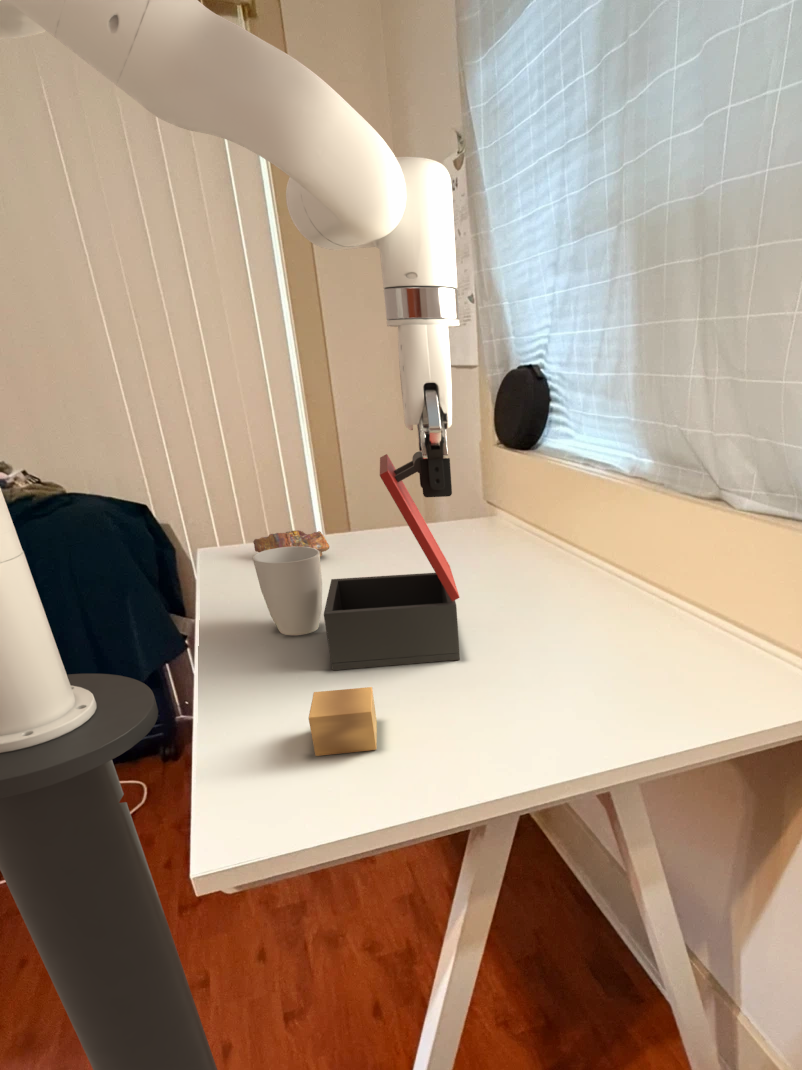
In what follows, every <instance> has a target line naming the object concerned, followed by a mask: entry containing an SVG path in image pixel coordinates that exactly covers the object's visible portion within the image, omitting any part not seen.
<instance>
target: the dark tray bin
mask: <svg viewBox="0 0 802 1070" xmlns="http://www.w3.org/2000/svg"><path fill="white" fill-rule="evenodd" d="M323 619H324V626H325V631H326V638H327V644H328V645H327V646H328V650H329V657H330V663H331V669H332V671H340V670H341V671H342V670H354V669H364V668H366V669H367V668H377V667H388V666H389V667H390V666H399V665H400V666H402V665H410V664H411V665H412V664H413V665H414V664H424V663H425V664H426V663H435V662H448V661H450V662H451V661H460V660H461V655H460V643H459V642H460V640H459V639H460V638H459V624H458V622H459V621H458V609H457V602H456V600H454V601H451V599H450V597H449V595H448V594H447V592H446V590H445V588H444V587H443V585H442V583H441V581H440V580H439V578H438V576H437V574H436V573H435V572H423V573H407V574H392V575H378V576H377V575H376V576H375V575H374V576H360V577H359V576H358V577H347V578H345V577H344V578H331V579H330V584H329V589H328V592H327V597H326V603H325V607H324V611H323Z"/></svg>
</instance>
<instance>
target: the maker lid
mask: <svg viewBox="0 0 802 1070" xmlns="http://www.w3.org/2000/svg"><path fill="white" fill-rule="evenodd" d="M411 459H412V460H411V461H408V462H407V463H405V464H403V465H402V466H399V467H397V468H396V467H395V466H394V464H393V462H392V460H391V458H390V456H389V455H388V453H386V454H384V455H382V456H380V457H379V477H380V479H381V480H382V482H383V484H384V486H385V487H386V489H387V491H388V493H389V494H390V496H391V498H392V500H393V501H394V504H395V505H396V507H397V508H398V510H399V512H400V514H401V515H402V517H403V519H404V520H405V521H404V522H406V525H407V526H408V529H410V531H411V533H412V534H413V536H414V538H415V540H416V541H417V543H418V545H419V547H420V549H421V550H422V552H423V553H424V555H425V557H426V559H427V560H428V563H429V564H430V566H431V568H432V569H433V571H434V573H436V574H437V576H438V578H439V580H440V581H441V583H442V585H443V587H444V588H445V590H446V592H447V594H448V595H449V597H450V599H451V601H454V600H455V601H456V600H458V599H460V597H461V596H460V594H459V591H458V588H457V585H456V582H455V578H454V575H453V572H452V568H451V565H450V564H449V562H448V561H447V558H446V557H445V555H444V553H443V551H442V550H441V548H440V546H439V544H438V542H437V540H436V538H435V537H434V534H433V533H432V531H431V530H430V527H429V526H428V524H427V522H426V521H425V519H424V517H423V515H422V514H421V512H420V510H419V508H418V507H417V505H416V503H415V501H414V499H413V498H412V495H411V494H410V492H409V490H408V489H407V486H406V485H405V483H404V482H403V480H405V479H407V478H409V477H411V476H413V475H414V474H416V473H418V474H419V473H420V474H421V464H420V459H423V458H422V452H421V451H419V450H418V451H416V452H414V454H413V455H412V457H411Z"/></svg>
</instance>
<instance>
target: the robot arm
mask: <svg viewBox="0 0 802 1070" xmlns="http://www.w3.org/2000/svg"><path fill="white" fill-rule="evenodd" d="M46 32H47V33H48V34H50V35H51V36H52V37H54V39H56V40H57V41H58V42H60V43H61V44H63V45H64V46H65V47H66V48H67V49H69V50H70V51H71V52H73V53H74V54H75V55H77V56H78V57H79V58H80V59H82V60H83V61H84V62H86V63H87V64H88V65H90V66H91V67H92V68H94V70H96V71H98V73H99V74H101V75H102V76H103V77H104V78H106V79H107V80H109V81H110V82H111V83H112V84H114V85H115V86H116V87H118V88H119V89H120V90H122V91H123V92H124V93H126V95H128V96H129V97H131V99H133V100H134V101H135V102H137V103H138V104H139V105H141V106H142V107H143V108H144V109H145V110H147V111H148V112H149V113H150V114H152V115H153V116H154V117H155V118H158V119H159V120H161V121H164V122H166V123H168V124H170V125H173V126H175V127H177V128H181V129H184V130H187V131H191V132H195V133H201V134H205V135H211V136H214V137H218V138H221V139H225V140H226V141H230V142H232V143H234V144H236V145H239V146H241V147H242V148H245V149H247V150H249V151H250V152H252V153H254V154H256V155H258V156H259V157H260V158H262V159H264V160H265V161H267V162H269V163H270V164H272V165H273V166H274V167H276V168H278V169H279V170H280V171H282V172H283V173H284V174H286V175H287V176H288V177H289V178H288V180H287V183H286V188H285V202H286V207H287V211H288V215H289V217H290V219H291V222H292V223H293V225H294V226H295V228H296V229H297V230H298V232H299V234H301V236H302V237H304V238H305V239H306V240H307V241H309V243H311V244H313V245H315V246H316V247H318V248H322V249H324V250H329V251H336V252H337V251H349V250H357V249H368V248H377V249H379V257H380V266H381V278H382V288H383V298H384V310H385V319H386V327H390V328H397V349H398V350H397V351H398V365H399V376H400V386H401V387H400V388H401V397H402V398H401V399H402V408H403V418H404V425H405V427H406V428H407V429H408V430H409V431H413V430H414V425H416V427H417V437H418V438H417V440H418V452H419V451H421V452H422V458H423V459H420V464H421V474H420V473H418V474H419V485H420V488H422V495H423V497H425V498H443V497H444V498H445V497H446V498H447V497H451V496H452V495H453V488H452V471H451V458H450V457H449V450H448V440H447V430H449V428H451V427H452V425H453V385H452V366H451V347H450V332H449V327H460V310H459V294H458V293H459V291H458V274H457V273H458V272H457V256H456V238H455V237H456V236H455V221H454V220H455V218H454V203H453V202H454V199H453V186H452V185H453V184H452V179H451V175H450V173H449V170H448V169H447V167H446V166H444V165H443V163H441V162H439V161H438V160H435V159H431V158H426V157H422V156H421V157H419V156H398V157H397V156H396V155H395V154H394V152H393V150H392V149H391V148H390V146H389V145H388V143H387V142H386V141H385V140H384V139H383V137H382V136H381V135H380V134H379V132H378V131H377V130H376V129H375V128H374V127H373V126H372V125H371V124H370V123H369V122H368V121H367V120H366V119H365V118H364V117H363V116H362V115H361V114H359V112H358V111H357V110H356V109H355V108H354V107H352V105H350V103H348V101H346V100H345V99H344V98H343V97H342V95H340V94H339V93H338V92H337V91H336V90H335V89H334V88H333V87H331V85H329V84H328V83H327V82H325V80H323V78H321V77H320V76H318V74H316V73H315V72H314V71H312V70H311V69H310V68H308V67H307V66H306V65H304V64H303V63H302V62H300V61H299V60H298V59H296V58H294V57H293V56H291V55H290V54H288V53H286V51H285V52H284V51H283V50H281V49H280V48H278V47H276V46H275V45H273V44H271V43H269V42H267V41H265V40H264V39H262V38H260V37H259V36H258V35H257V36H256V35H255V34H253V33H252V32H250V31H248V30H247V29H245V28H243V27H242V26H241V25H238V24H237V23H235V22H233V21H231V20H229V19H227V18H225V17H223V16H221V15H219V14H216V13H215V12H214V11H213V10H210V9H209V8H208V7H207V6H205V5H204V4H203V3H202V2H201V1H199V0H0V41H2V40H14V39H22V38H23V39H24V38H30V37H34V36H37V35H41V34H44V33H46ZM13 522H14V521H13V519H12V516H11V514H10V511H9V508H8V505H7V502H6V499H5V496H4V494H3V491H2V488H1V487H0V753H5V752H11V751H16V750H20V749H24V748H29V747H32V746H35V745H38V744H42V743H45V742H48V741H50V740H53V739H55V738H58V737H60V736H62V735H65V734H67V733H69V732H71V731H73V730H74V729H76V728H78V727H79V726H81V725H82V724H84V723H85V722H86V721H88V720H89V719H90V718H91V716H92V715H93V714H94V713H95V710H96V708H97V706H96V701H95V699H94V696H93V694H92V693H91V692H90V691H89V690H86V689H84V688H81V687H77V686H71V685H70V682H69V680H68V677H67V675H68V674H67V671H66V669H65V665H64V663H63V660H62V657H61V654H60V651H59V649H58V646H57V643H56V640H55V637H54V634H53V632H52V628H51V626H50V623H49V620H48V617H47V615H46V611H45V608H44V605H43V603H42V600H41V597H40V594H39V592H38V589H37V586H36V583H35V580H34V577H33V575H32V572H31V569H30V566H29V563H28V560H27V557H26V554H25V551H24V550H23V548H22V545H21V542H20V539H19V536H18V533H17V530H16V527H15V525H14V523H13Z"/></svg>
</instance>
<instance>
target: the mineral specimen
mask: <svg viewBox="0 0 802 1070" xmlns="http://www.w3.org/2000/svg"><path fill="white" fill-rule="evenodd" d="M252 542H253V547H254V551H255V552H257V553H259V552H262V551H265V550H269V549H274V548H281V547H310V548H314V549H317V550H319V552H320V558H322V557H323V553H324V552H326V551H328V550H329V549H330V544H329V543H328V541H327V539H326V538H325V536H324V534H323V533H322V531H320V530H318V531H314V532H312V533H306V532H304V531H302V530H291V531H290V530H289V531H285V532H275V533H270V534H268V535H267V536H262V537H260V538H255V539H254V540H253V541H252Z"/></svg>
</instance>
